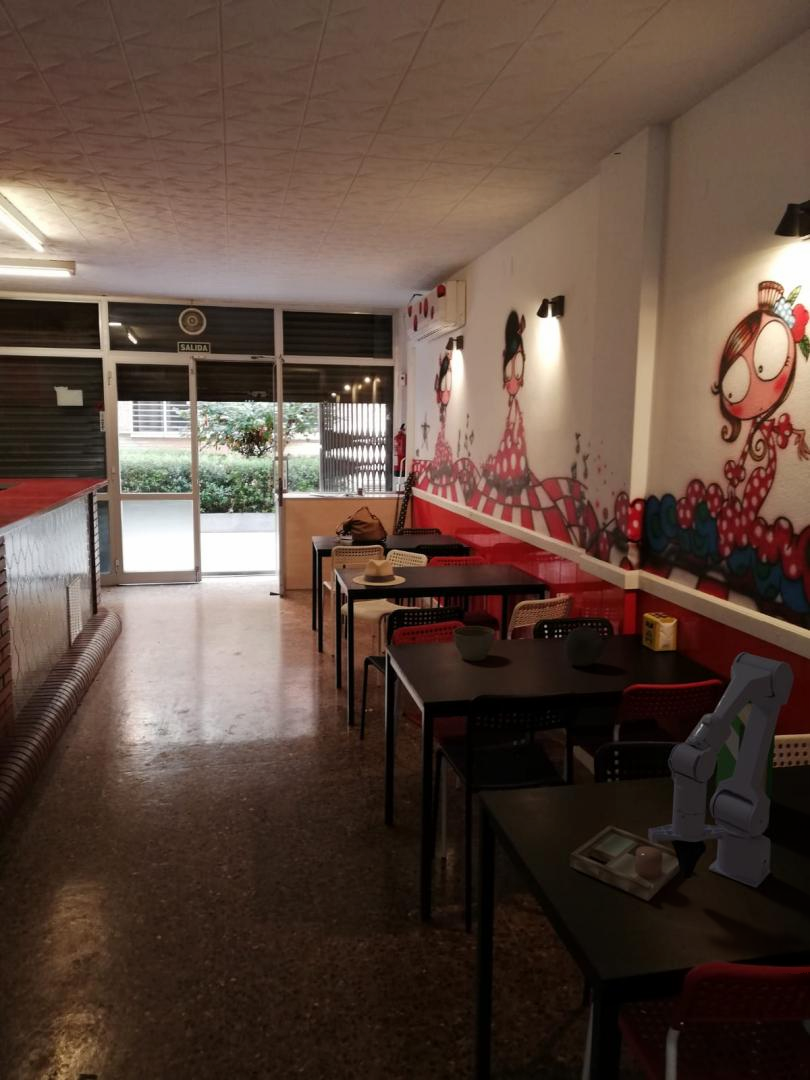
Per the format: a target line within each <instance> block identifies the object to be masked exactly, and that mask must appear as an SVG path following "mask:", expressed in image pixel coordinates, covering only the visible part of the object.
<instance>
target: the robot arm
mask: <svg viewBox="0 0 810 1080" xmlns="http://www.w3.org/2000/svg"><path fill="white" fill-rule="evenodd" d="M794 677H795V676H794V673H793V670H792V667H791V665H790V664H789V663H788V662H785V661H778V660H775V659H771V658H767V657H764V656H763V657H762V656H759V655H755V654H751V653H750V652H746V651H742V652H740V653H739V654H737V656H736V657H735V658H734V660H733V663H732V664H731V666H730V679H731V681H729V684H728V686H727V687H726V689H725V691H724V693H723V695H722V696H721V697H720V700H719V702H718V703H717V706H716V707H715V709H714V710H713V712H712V713H711V712H710V713H706V714H704V715H703V716H702V717H701V719H700V720H699V722H698V723H697V724H696V726H695V727H694V729H693V730H692V731H691V733H690V735H688V737H687V739H685V742H681V743H677V744H676V745H675V746H674V747H672V750H671V752H670V755H669V758H668V759H667V763H668V768H669V769H670V771H671V780H672V781H673V783H674V784H673V798H672V799H673V801H672V823H671V824H669V823H668V824H666V825H662V826H658V827H654V828H648V831H647V832H648V833H647V835H648V837H647V838H648V840H650V841H651V842H652V843H658V842H671V845H672V846H673V850H675V852H676V855H677V859H678V863H679V868H680V872H679V873H680V875H681V876H682V878H684V879H692V876H693V873H694V870H695V868H696V865H697V863H698V862H699V859H700V858H701V857H702V856H703V855H704V853H705V852H706V850H707V849H706V847H707V846H706V844H705V842H704V841H706V840H717V847H716V848H717V851H716V859H715V861H713V862H712V863H711V864H710V865H709V867H708V870H709V871H711V872H714V873H716V874H719V875H721V876H724V877H727V878H730V879H732V880H734V881H737V882H738V883H739V882H740V883H741V884H744V885H747V886H750V887H753V888H756V889H757V888H758V887H759V886H760V885H761V884H762V882H763V881H764V880H765V879H766V877H768V875H769V874H771V870H770V862H771V861H770V860H771V847H772V843H771V839H770V838H768V837H767V836H765V835H763V833H764V832H765V831H766V830H767V829H766V828H767V825H768V822H769V823H770V819H769V807H770V808H771V803H770V800H769V798H768V797H767V795H766V794H765V793H764V791H763V790H762V789H761V787H760V782H761V778H762V775H763V771H764V767H765V763H766V760H767V756H768V752H769V749H770V745H771V741H772V737H773V734H774V730H775V731H776V727H775V726H777V722H778V718H779V714H780V711H781V706H784V705H787V704H788V700H789V698H790V695H791V691H792V687H793V683H794V679H795V678H794ZM750 700H752V707H751V711H750V714H749V718H748V722H747V725H746V729H745V733H744V736H743V740H742V744H741V748H740V751H739V755H738V759H737V762H736V766H735V770H734V773H733V777H732V778H730V779H727V780H724V781H721V782H720V783H719V785H718V788H717V790H716V789H715V792H714V794H713V796H712V797H711V799H710V803H709V810H710V814H711V817H712V818H714V819H715V823H714V824H715V825H710V824H706V809H707V808H706V807H707V806H706V805H707V788H708V785H707V784H708V781H709V780H710V779H711V777H712V776H713V774H714V773H715V771H716V770H715V769H716V766H717V760H718V752H719V751H720V750H721V748H722V747H723V745H724V744H725V742H726V741H727V739H728V738H729V736H730V735H731V733H732V731H731V727H730V723H731V722H732V721H733V720H734V719H735V717H736V716H737V715H738V714H739V713H740V711H741V710H742V709H743V708H744V707H745V706H746V704H747V703H748V702H749V701H750ZM733 792H735V793H737V794H740V795H742V796H744V797H747V798H749V799H750V800H748V799H746V798H743V797H741V796H739V795H736V794H734V793H733Z"/></svg>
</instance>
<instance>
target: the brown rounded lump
mask: <svg viewBox="0 0 810 1080" xmlns="http://www.w3.org/2000/svg"><path fill="white" fill-rule="evenodd" d="M635 856H636V862H635V872H636V873H637V874H638V875H639V876H641V877H643V878H646V879H658V878H660V877H661V875H662V856H663V855H662V853H661V852H660V851H659V850H658V849H655V848H653V847H646V846H644V847H639V848H637V850H636V854H635Z"/></svg>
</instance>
